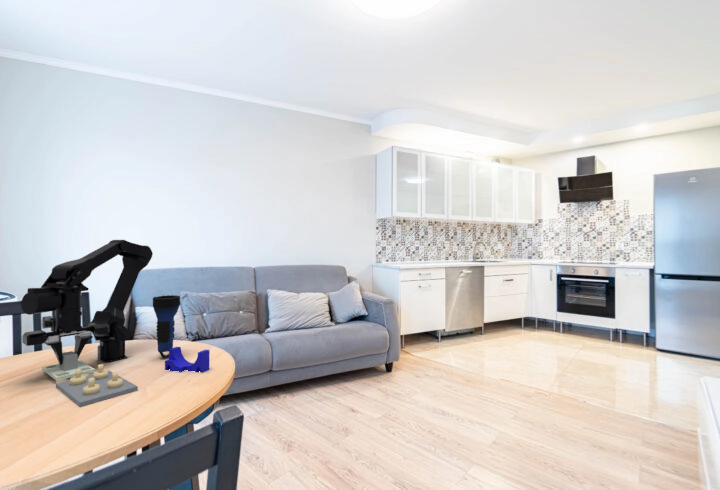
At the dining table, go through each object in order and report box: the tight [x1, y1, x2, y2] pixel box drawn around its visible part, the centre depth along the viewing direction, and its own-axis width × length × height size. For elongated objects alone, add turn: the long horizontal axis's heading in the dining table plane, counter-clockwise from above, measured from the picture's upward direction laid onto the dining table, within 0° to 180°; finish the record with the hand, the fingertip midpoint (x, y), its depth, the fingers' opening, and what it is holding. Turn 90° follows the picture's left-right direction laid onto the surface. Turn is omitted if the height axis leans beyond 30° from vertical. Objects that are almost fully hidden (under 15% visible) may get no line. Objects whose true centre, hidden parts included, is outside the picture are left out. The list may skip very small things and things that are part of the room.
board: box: [41, 350, 96, 381], centre depth 104 cm, size 9×14×5 cm, turn 53°
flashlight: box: [152, 294, 181, 359], centre depth 119 cm, size 8×8×20 cm
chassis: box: [55, 363, 139, 408], centre depth 93 cm, size 12×19×4 cm, turn 53°
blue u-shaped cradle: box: [164, 346, 210, 374], centre depth 107 cm, size 12×4×6 cm, turn 73°
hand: (68, 362), depth 104 cm, fingers closed on board, 3 cm apart
